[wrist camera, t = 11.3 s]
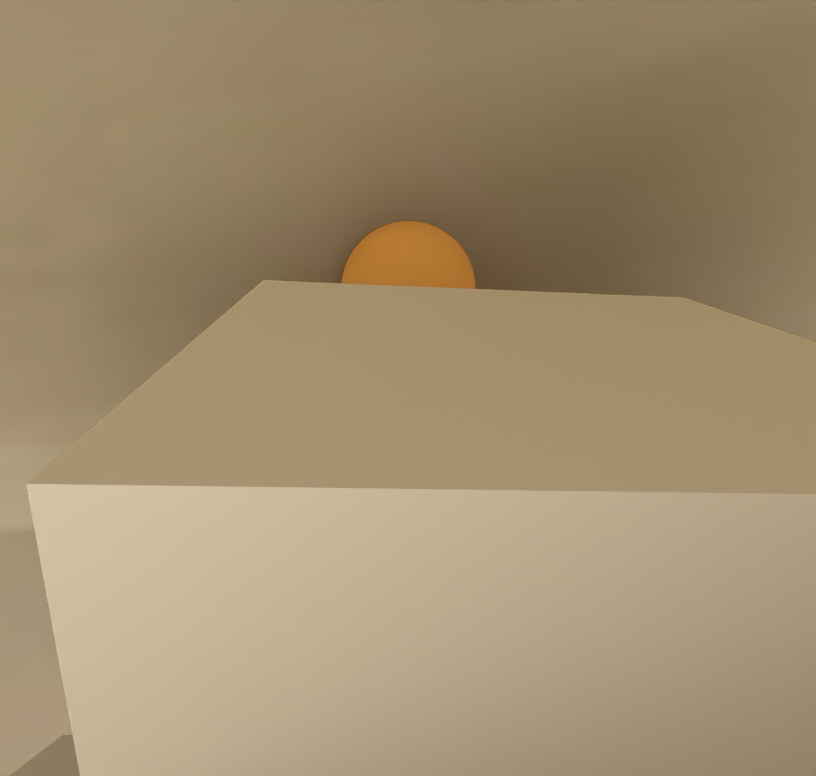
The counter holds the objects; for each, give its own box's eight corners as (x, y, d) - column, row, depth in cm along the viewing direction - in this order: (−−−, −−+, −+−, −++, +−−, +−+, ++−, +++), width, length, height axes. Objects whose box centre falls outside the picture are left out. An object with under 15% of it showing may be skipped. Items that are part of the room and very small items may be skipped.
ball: (469, 389, 21) (455, 311, 25) (499, 274, 18) (479, 203, 22) (334, 380, 21) (341, 302, 25) (340, 260, 18) (347, 190, 21)
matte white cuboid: (684, 297, 10) (1282, 500, 3) (591, 744, 13) (803, 1271, 7) (263, 280, 9) (25, 483, 3) (277, 751, 12) (183, 1334, 6)
